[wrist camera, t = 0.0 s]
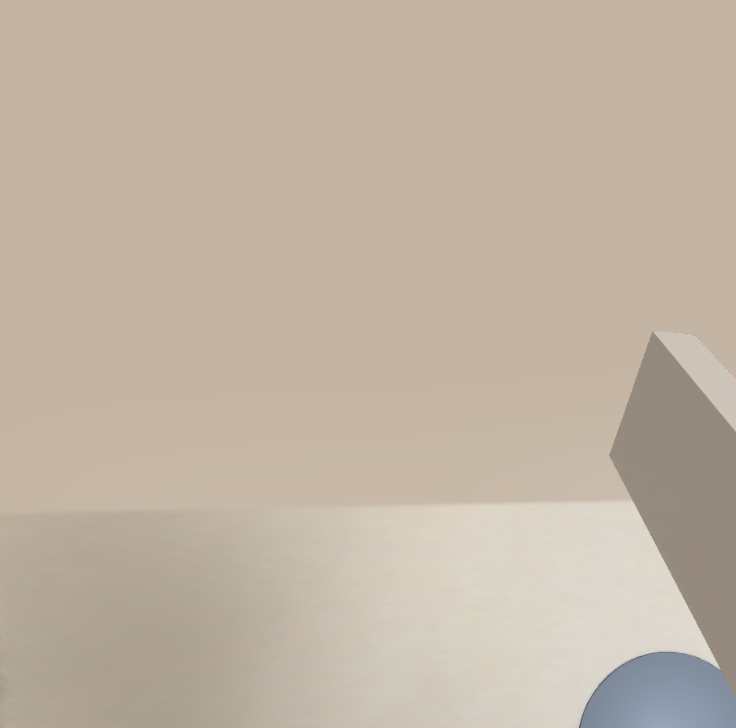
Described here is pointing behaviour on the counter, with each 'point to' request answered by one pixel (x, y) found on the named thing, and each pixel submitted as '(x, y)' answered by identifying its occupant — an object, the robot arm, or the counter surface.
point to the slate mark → (663, 695)
